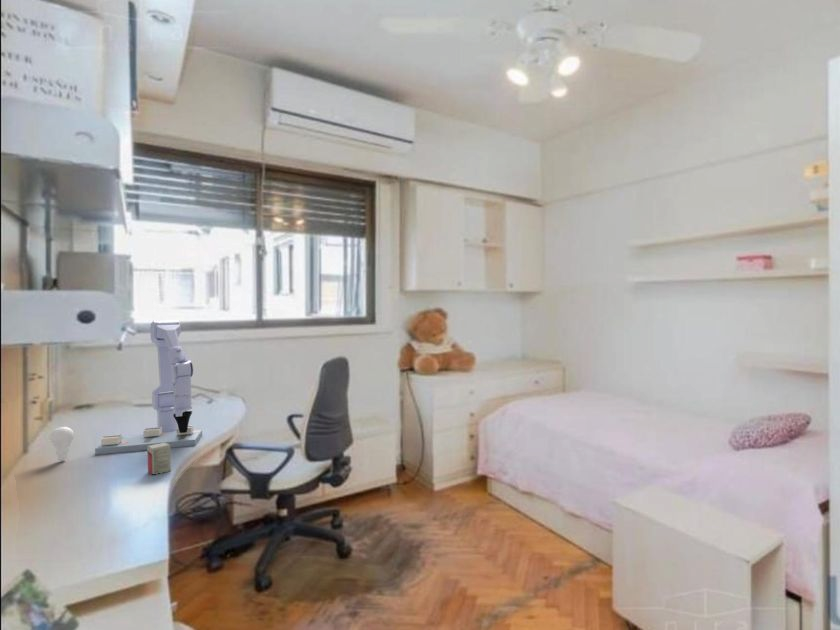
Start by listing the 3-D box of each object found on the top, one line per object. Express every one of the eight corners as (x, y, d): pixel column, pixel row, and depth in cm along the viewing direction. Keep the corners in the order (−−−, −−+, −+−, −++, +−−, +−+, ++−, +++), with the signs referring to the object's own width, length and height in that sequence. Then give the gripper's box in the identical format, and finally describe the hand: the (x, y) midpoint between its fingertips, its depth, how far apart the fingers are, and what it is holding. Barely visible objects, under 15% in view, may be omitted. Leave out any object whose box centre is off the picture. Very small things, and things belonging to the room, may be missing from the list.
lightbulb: (61, 464, 144) (60, 429, 144) (45, 464, 146) (44, 429, 146) (79, 458, 150) (78, 425, 150) (63, 457, 152) (63, 424, 152)
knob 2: (146, 434, 171) (146, 427, 171) (161, 433, 172) (161, 426, 172) (143, 437, 167) (143, 430, 167) (159, 435, 168) (159, 428, 168)
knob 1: (105, 442, 161) (105, 435, 161) (121, 441, 162) (121, 433, 162) (101, 445, 157) (101, 438, 157) (118, 444, 159) (117, 436, 159)
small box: (166, 468, 139) (165, 441, 139) (171, 471, 136) (170, 444, 136) (147, 472, 136) (146, 445, 136) (152, 475, 133) (151, 448, 133)
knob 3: (178, 432, 173) (178, 425, 173) (193, 431, 174) (193, 424, 174) (176, 435, 169) (176, 428, 169) (191, 433, 170) (191, 427, 170)
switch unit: (111, 442, 169) (110, 437, 169) (202, 434, 178) (202, 429, 178) (95, 454, 154) (95, 448, 154) (195, 445, 163) (195, 439, 163)
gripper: (174, 392, 174) (175, 428, 174) (165, 399, 160) (166, 438, 160) (195, 391, 176) (196, 426, 176) (187, 397, 162) (188, 436, 162)
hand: (183, 432), depth 168 cm, fingers closed
